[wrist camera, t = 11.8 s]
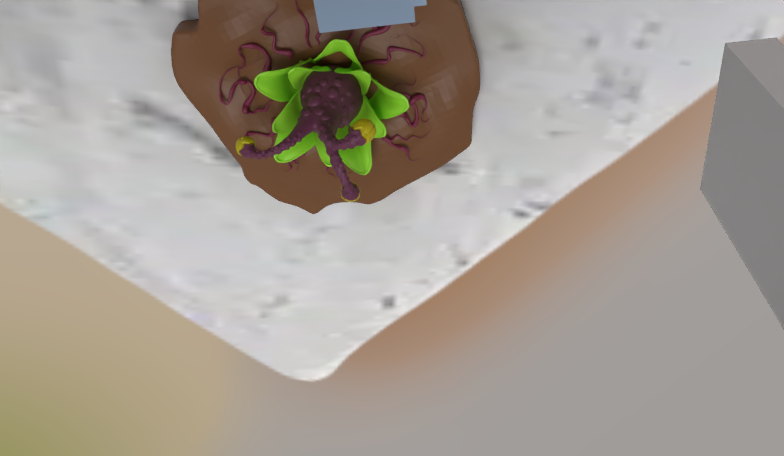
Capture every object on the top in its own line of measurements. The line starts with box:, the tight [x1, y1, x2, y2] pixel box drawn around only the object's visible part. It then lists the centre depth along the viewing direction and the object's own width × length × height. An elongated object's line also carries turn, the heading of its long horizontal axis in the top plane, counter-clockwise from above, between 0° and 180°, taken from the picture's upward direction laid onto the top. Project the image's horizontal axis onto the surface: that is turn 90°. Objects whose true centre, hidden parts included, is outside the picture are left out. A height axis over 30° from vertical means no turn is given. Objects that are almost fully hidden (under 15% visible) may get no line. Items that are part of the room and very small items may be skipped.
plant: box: [171, 0, 480, 214], centre depth 47 cm, size 20×20×11 cm
